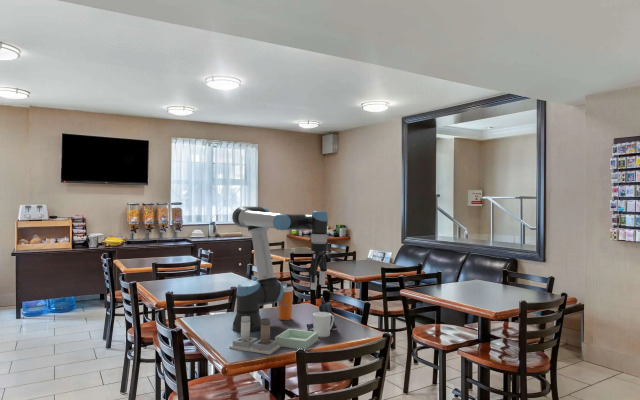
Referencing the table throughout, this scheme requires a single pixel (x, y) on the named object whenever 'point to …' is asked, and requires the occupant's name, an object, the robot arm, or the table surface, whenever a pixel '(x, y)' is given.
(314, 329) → the mug
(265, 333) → the fuse
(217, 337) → the table surface
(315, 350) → the table surface
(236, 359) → the table surface
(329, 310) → the gun
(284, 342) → the parts tray
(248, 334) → the fuse
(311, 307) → the table surface
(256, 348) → the panel
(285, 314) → the shaker bottle
